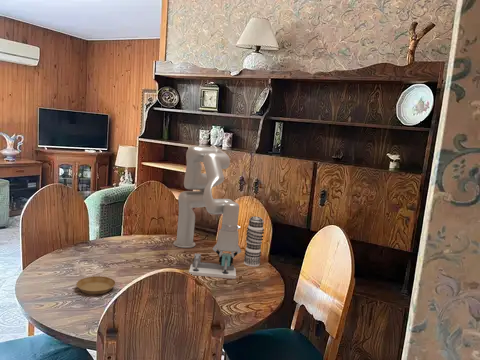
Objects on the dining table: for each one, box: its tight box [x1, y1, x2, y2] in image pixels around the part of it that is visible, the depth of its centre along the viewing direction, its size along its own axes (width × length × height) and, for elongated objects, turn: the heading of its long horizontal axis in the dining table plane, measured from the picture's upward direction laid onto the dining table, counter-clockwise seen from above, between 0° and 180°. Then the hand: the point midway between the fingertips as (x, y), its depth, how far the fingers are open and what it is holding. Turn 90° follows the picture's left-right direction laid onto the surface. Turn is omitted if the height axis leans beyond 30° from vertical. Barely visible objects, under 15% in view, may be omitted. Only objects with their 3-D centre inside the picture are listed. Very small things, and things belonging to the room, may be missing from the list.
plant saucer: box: [76, 275, 116, 296], centre depth 155 cm, size 15×15×3 cm
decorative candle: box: [243, 216, 265, 267], centre depth 202 cm, size 9×9×25 cm
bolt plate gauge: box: [188, 253, 237, 280], centre depth 185 cm, size 10×22×8 cm, turn 92°
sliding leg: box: [221, 252, 231, 272], centre depth 185 cm, size 8×4×7 cm, turn 2°
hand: (225, 263), depth 187 cm, fingers closed on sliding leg, 4 cm apart
